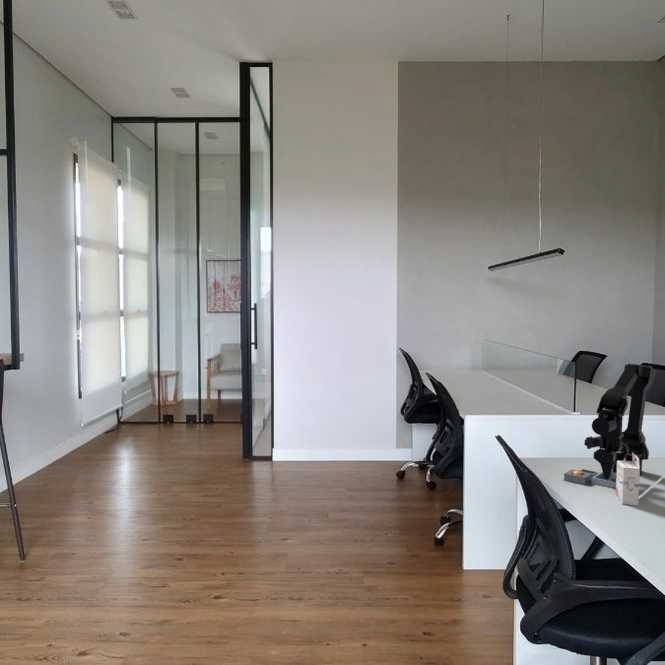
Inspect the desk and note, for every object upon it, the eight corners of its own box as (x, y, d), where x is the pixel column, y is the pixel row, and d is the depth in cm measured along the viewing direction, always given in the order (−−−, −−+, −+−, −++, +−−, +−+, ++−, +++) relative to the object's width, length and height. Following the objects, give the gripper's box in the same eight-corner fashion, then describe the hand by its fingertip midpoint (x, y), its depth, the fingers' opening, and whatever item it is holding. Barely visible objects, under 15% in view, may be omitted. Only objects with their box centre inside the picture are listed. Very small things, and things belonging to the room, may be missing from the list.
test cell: (606, 480, 209) (606, 468, 209) (617, 483, 207) (617, 471, 206) (602, 483, 206) (603, 471, 206) (614, 485, 204) (614, 473, 204)
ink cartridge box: (614, 495, 196) (616, 450, 195) (631, 496, 195) (633, 451, 194) (621, 504, 187) (623, 457, 186) (638, 506, 186) (641, 458, 185)
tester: (578, 471, 221) (579, 463, 221) (601, 476, 216) (602, 468, 216) (562, 481, 209) (562, 473, 209) (586, 487, 204) (586, 478, 204)
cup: (600, 478, 213) (600, 471, 213) (628, 484, 207) (629, 477, 207) (591, 485, 206) (591, 477, 206) (620, 491, 200) (620, 483, 200)
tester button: (575, 477, 211) (575, 470, 211) (583, 479, 209) (584, 472, 209) (572, 479, 209) (572, 472, 209) (580, 481, 207) (581, 473, 207)
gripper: (597, 422, 218) (595, 465, 219) (578, 431, 204) (576, 477, 205) (630, 427, 210) (628, 472, 211) (613, 436, 196) (611, 484, 197)
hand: (610, 476), depth 206 cm, fingers open, 9 cm apart
